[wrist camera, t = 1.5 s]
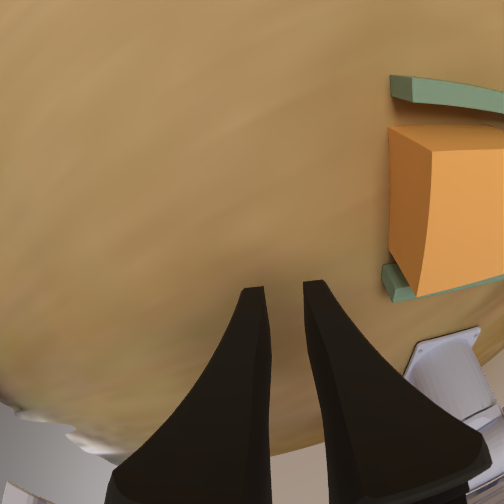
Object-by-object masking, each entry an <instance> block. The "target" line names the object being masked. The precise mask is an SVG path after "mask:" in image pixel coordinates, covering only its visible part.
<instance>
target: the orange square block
mask: <svg viewBox="0 0 504 504" xmlns="http://www.w3.org/2000/svg"><path fill="white" fill-rule="evenodd" d="M388 135H389V156H390V222H389V243H388V249H389V251H390V252H391V254H392V256H393V257H394V259H395V261H396V262H397V264H398V266H399V268H400V269H401V271H402V273H403V274H404V276H405V278H406V280H407V281H408V283H409V285H410V287H411V289H412V290H413V292H414V294H415V296H416V297H420V296H424V295H428V294H432V293H436V292H440V291H444V290H448V289H452V288H456V287H460V286H463V285H467V284H471V283H474V282H478V281H481V280H485V279H488V278H492V277H495V276H498V275H502V274H504V131H502V130H499V129H497V128H495V127H493V126H486V125H416V126H395V127H388Z"/></svg>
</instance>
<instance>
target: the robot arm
mask: <svg viewBox="0 0 504 504" xmlns="http://www.w3.org/2000/svg"><path fill="white" fill-rule="evenodd" d="M303 294H304V322H305V333H306V341H307V349H308V355H309V359H310V364H311V368H312V372H313V377H314V381H315V385H316V390H317V394H318V399H319V403H320V408H321V413H322V419H323V427H324V437H325V447H326V458H327V471H328V487H329V504H504V476H502V477H501V478H499V479H497V480H496V481H494V482H492V483H490V484H488V485H487V486H484V487H482V488H481V489H479V490H477V491H475V492H472V493H470V494H468V495H466V493H468V492H470V491H472V490H474V489H476V488H478V487H480V486H482V485H484V484H486V483H488V482H490V481H491V480H493V479H495V478H497V477H499V476H500V475H502V474H503V473H504V415H503V412H504V407H503V408H502V410H503V412H502V410H501V408H500V406H499V405H498V403H497V402H496V399H495V397H494V394H493V392H492V390H491V387H490V386H489V383H488V381H487V379H486V376H485V374H484V372H483V370H482V368H481V366H480V364H479V362H478V360H477V358H476V356H475V354H474V352H473V350H472V346H473V344H474V343H475V341H476V339H477V337H478V335H479V333H480V331H481V329H480V327H475V328H471V329H468V330H464V331H461V332H457V333H454V334H450V335H446V336H442V337H439V338H435V339H431V340H426V341H422V342H420V343H418V344H417V345H416V348H415V350H414V353H413V355H412V357H411V360H410V362H409V365H408V367H407V369H406V372H405V374H404V376H402V375H401V374H400V373H398V372H397V371H396V370H395V369H394V368H393V367H392V366H391V365H390V364H389V363H388V362H387V361H386V360H385V359H384V358H383V357H382V356H381V355H380V354H379V352H378V351H377V350H376V349H375V348H374V347H373V346H372V345H371V344H370V342H369V341H368V340H367V339H366V338H365V337H364V335H363V334H362V333H361V332H360V331H359V329H358V328H357V327H356V326H355V324H354V323H353V322H352V320H351V319H350V318H349V317H348V315H347V314H346V313H345V311H344V310H343V309H342V307H341V306H340V304H339V303H338V301H337V300H336V298H335V297H334V295H333V294H332V292H331V291H330V289H329V287H328V286H327V284H326V282H325V281H323V280H315V281H306V282H303ZM271 362H272V353H271V337H270V326H269V320H268V313H267V306H266V300H265V293H264V286H261V287H251V288H244V289H243V290H242V291H241V294H240V297H239V300H238V303H237V306H236V308H235V311H234V313H233V316H232V318H231V320H230V323H229V325H228V327H227V329H226V331H225V333H224V335H223V337H222V339H221V341H220V343H219V345H218V347H217V349H216V351H215V352H214V354H213V356H212V358H211V359H210V361H209V363H208V365H207V366H206V368H205V370H204V371H203V373H202V374H201V376H200V377H199V379H198V380H197V382H196V383H195V385H194V386H193V388H192V389H191V390H190V392H189V393H188V394H187V396H186V397H185V398H184V400H183V401H182V402H181V404H180V405H179V406H178V407H177V409H176V410H175V411H174V412H173V413H172V415H171V416H170V417H169V418H168V419H167V420H166V421H165V423H164V424H163V425H162V426H161V427H160V428H159V429H158V430H157V431H156V432H155V433H154V434H153V435H152V436H151V437H150V438H149V439H148V440H147V441H146V442H145V443H144V444H143V445H142V446H141V447H140V448H139V449H138V450H137V451H135V452H134V453H133V454H132V455H131V456H130V457H129V458H127V459H126V460H125V461H124V462H123V463H121V464H120V465H119V466H118V467H117V468H116V469H114V470H113V472H112V475H111V478H110V481H109V483H108V487H107V492H106V498H105V503H104V504H272V490H271V471H270V449H269V402H270V383H271ZM2 504H54V503H52V502H50V501H48V500H45V499H43V498H41V497H38V496H35V495H33V494H31V493H30V492H28V491H26V490H24V489H22V488H20V487H18V486H17V485H15V484H13V483H11V482H7V484H6V488H5V492H4V496H3V500H2Z"/></svg>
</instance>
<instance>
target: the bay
mask: <svg viewBox="0 0 504 504" xmlns="http://www.w3.org/2000/svg"><path fill="white" fill-rule="evenodd" d="M390 82H391V96H392V97H396V98H400V99H403V100H407V101H410V102H416V103H430V104H441V105H450V106H459V107H466V108H473V109H480V110H486V111H492V112H498V113H503V114H504V92H500V91H496V90H492V89H488V88H483V87H478V86H473V85H468V84H462V83H457V82H450V81H444V80H437V79H429V78H420V77H410V76H397V75H390ZM381 280H382V282H383V284H384V286H385V288H386V290H387V292H388V294H389V296H390V298H391V301H392V303H395V302H400V301H406V300H412V299H417V298H422V297H428V296H433V295H438V294H443V293H447V292H452V291H457V290H462V289H466V288H471V287H475V286H479V285H484V284H488V283H492V282H496V281H500V280H504V274H502V275H498V276H495V277H492V278H488V279H485V280H481V281H478V282H474V283H471V284H467V285H463V286H460V287H456V288H452V289H448V290H444V291H440V292H436V293H432V294H428V295H424V296H420V297H416V296H415V294H414V292H413V290H412V289H411V287H410V285H409V283H408V281H407V280H406V278H405V276H404V274H403V273H402V271H401V269H400V268H399V266H398V264H397V263H393V264H386V265H383V268H382V275H381Z"/></svg>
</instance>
